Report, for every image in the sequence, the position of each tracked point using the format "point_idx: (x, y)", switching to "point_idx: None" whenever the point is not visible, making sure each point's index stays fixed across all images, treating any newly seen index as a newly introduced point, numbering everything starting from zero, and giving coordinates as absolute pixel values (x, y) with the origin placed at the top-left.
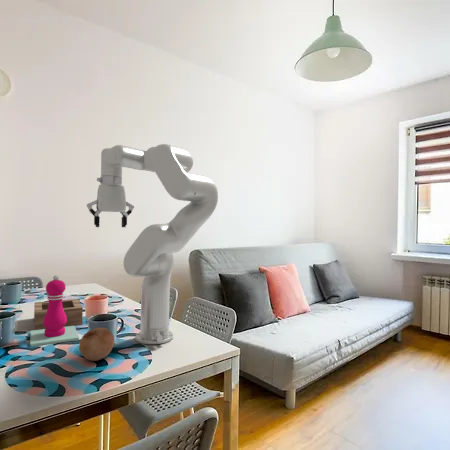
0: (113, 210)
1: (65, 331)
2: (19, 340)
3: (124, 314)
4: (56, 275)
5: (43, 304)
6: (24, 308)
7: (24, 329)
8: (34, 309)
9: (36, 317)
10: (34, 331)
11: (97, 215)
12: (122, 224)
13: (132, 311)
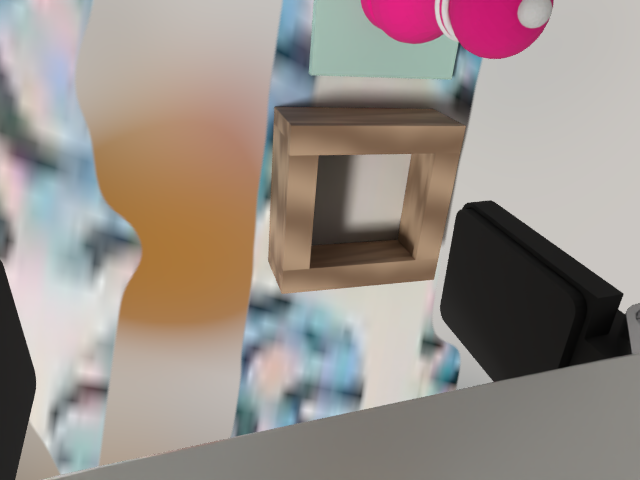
0: (367, 411)
1: (354, 7)
2: None
3: (74, 188)
4: (542, 12)
5: (407, 257)
6: (411, 370)
7: None
8: (455, 174)
9: (448, 120)
10: (443, 64)
11: (633, 318)
12: (12, 366)
13: (27, 225)
